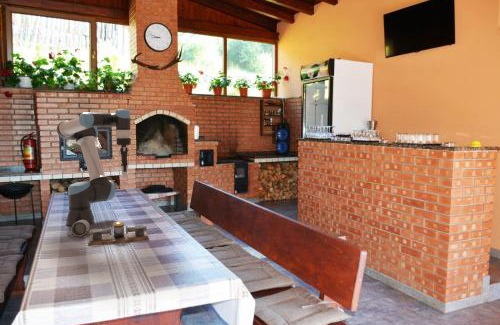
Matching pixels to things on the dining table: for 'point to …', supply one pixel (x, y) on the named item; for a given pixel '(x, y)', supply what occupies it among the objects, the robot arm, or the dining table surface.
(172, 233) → the dining table surface
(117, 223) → the knob
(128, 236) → the shaft bench
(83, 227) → the ceramic mug
